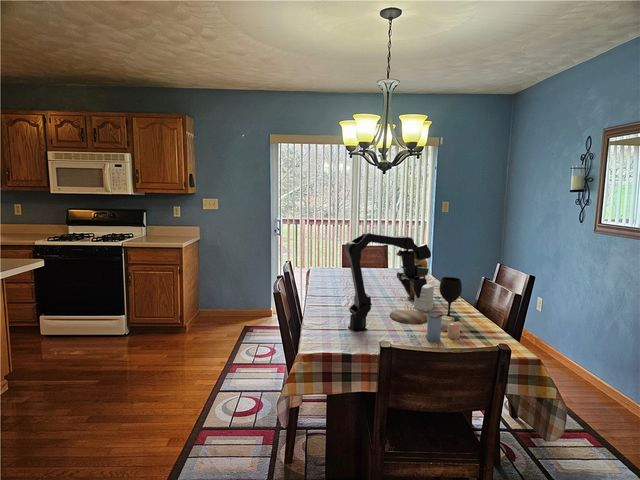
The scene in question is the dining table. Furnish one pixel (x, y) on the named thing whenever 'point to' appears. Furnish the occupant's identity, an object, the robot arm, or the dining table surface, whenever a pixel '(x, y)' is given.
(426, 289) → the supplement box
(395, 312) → the brown bread loaf
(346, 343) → the dining table surface
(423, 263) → the butternut squash
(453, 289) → the wine glass
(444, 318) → the birch block
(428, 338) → the blue-grey cup
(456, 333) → the pink short cylinder
